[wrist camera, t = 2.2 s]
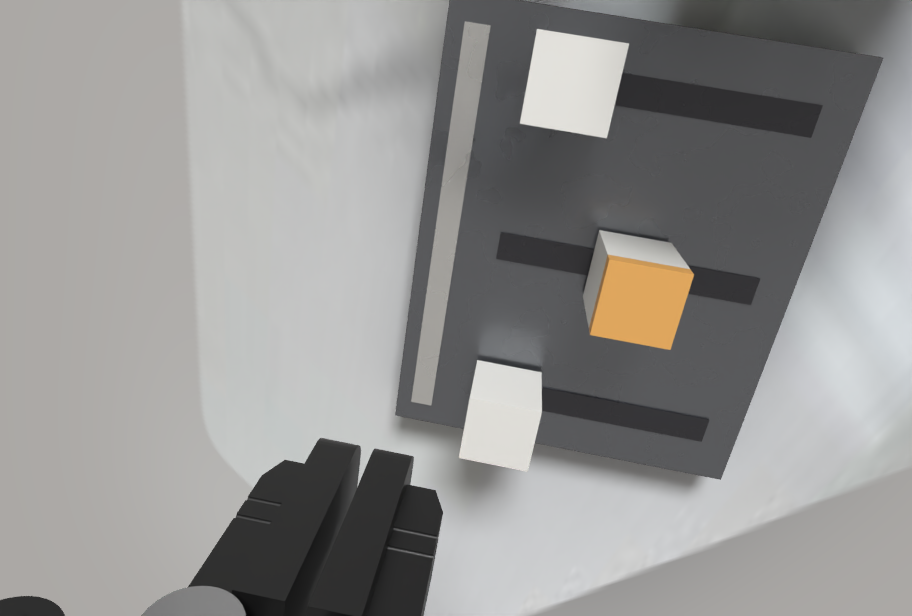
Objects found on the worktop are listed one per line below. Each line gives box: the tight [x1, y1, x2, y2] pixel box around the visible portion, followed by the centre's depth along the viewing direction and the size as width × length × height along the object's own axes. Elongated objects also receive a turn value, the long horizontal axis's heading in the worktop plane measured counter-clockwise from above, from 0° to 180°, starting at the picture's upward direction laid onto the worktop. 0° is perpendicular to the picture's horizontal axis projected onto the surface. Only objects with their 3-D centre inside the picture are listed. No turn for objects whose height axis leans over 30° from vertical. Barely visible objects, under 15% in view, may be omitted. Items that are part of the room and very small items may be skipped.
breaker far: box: [459, 360, 542, 472], centre depth 28 cm, size 3×3×4 cm
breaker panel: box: [395, 0, 883, 480], centre depth 28 cm, size 16×19×2 cm
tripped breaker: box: [583, 230, 694, 350], centre depth 25 cm, size 3×3×4 cm
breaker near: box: [520, 29, 629, 138], centre depth 22 cm, size 3×3×4 cm
